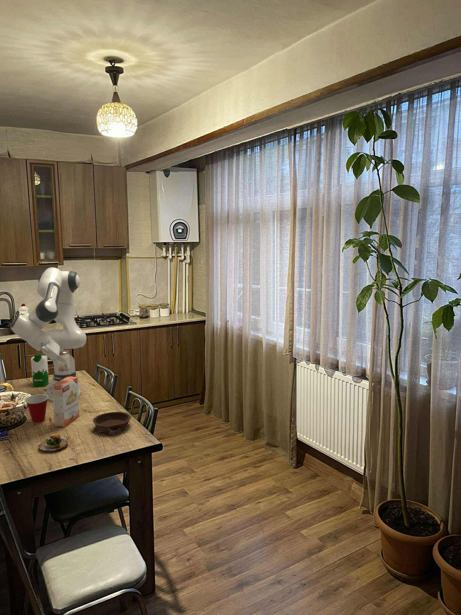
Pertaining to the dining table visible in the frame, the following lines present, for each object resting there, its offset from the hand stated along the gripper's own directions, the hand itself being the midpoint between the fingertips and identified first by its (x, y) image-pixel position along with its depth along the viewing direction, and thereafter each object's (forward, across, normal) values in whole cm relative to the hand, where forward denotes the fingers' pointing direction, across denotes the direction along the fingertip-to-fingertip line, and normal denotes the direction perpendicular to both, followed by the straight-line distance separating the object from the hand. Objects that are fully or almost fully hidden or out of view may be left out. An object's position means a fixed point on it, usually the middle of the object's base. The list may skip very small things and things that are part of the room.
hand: (65, 360), depth 222 cm
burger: (+18, -29, +27) cm, 43 cm away
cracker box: (+22, 0, +23) cm, 31 cm away
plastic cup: (+12, +6, +32) cm, 35 cm away
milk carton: (+10, +68, +34) cm, 77 cm away
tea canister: (+3, 0, +4) cm, 5 cm away
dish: (+36, -16, +8) cm, 40 cm away
